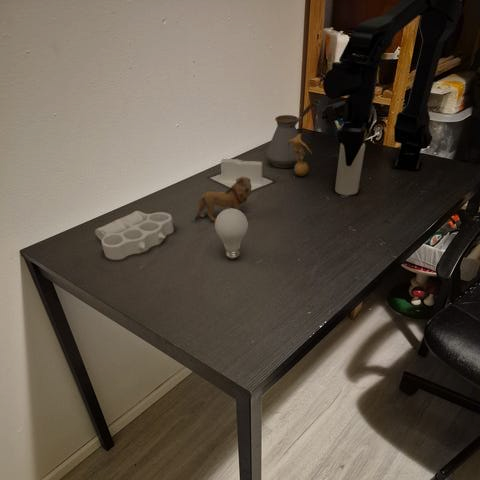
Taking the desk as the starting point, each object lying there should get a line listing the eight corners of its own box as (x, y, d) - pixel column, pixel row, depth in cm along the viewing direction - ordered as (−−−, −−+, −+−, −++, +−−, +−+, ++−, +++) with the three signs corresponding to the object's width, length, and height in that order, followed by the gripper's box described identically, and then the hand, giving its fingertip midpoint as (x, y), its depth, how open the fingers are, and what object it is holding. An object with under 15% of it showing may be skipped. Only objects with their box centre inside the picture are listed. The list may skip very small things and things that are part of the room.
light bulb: (252, 252, 91) (252, 204, 84) (242, 268, 86) (241, 220, 79) (223, 247, 93) (220, 200, 86) (212, 263, 88) (208, 215, 81)
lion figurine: (247, 206, 107) (247, 171, 101) (255, 215, 103) (255, 180, 97) (192, 217, 104) (188, 182, 98) (197, 227, 100) (194, 191, 94)
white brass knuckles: (147, 215, 105) (186, 233, 98) (84, 244, 95) (123, 268, 88) (144, 202, 103) (185, 220, 96) (80, 231, 93) (120, 254, 86)
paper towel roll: (359, 187, 114) (337, 184, 115) (367, 141, 106) (343, 139, 107) (355, 196, 109) (332, 193, 111) (363, 149, 101) (338, 147, 103)
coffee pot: (288, 173, 122) (291, 118, 112) (258, 164, 128) (258, 111, 118) (328, 152, 133) (334, 100, 124) (299, 144, 139) (302, 95, 129)
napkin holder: (273, 181, 118) (274, 161, 114) (243, 194, 113) (243, 173, 109) (238, 167, 127) (237, 147, 123) (209, 178, 121) (207, 158, 117)
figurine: (316, 177, 119) (320, 133, 112) (304, 184, 116) (307, 139, 108) (293, 169, 124) (295, 127, 116) (280, 176, 121) (282, 132, 113)
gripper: (335, 79, 105) (328, 143, 115) (317, 99, 92) (311, 169, 103) (381, 82, 102) (369, 147, 112) (369, 102, 89) (357, 174, 99)
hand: (351, 159), depth 107 cm, fingers open, 9 cm apart
